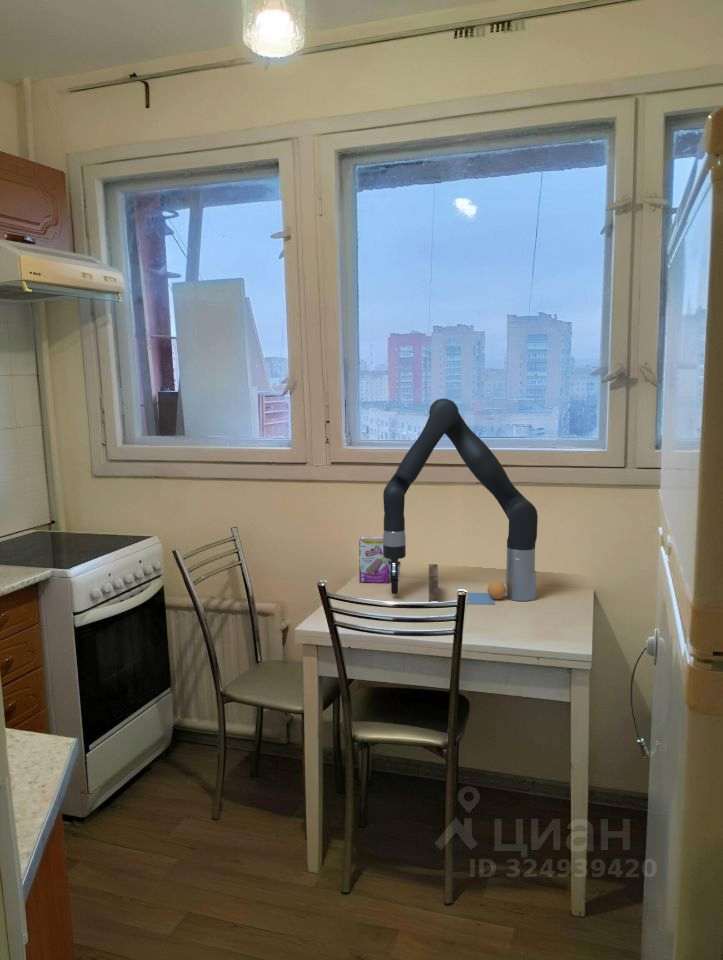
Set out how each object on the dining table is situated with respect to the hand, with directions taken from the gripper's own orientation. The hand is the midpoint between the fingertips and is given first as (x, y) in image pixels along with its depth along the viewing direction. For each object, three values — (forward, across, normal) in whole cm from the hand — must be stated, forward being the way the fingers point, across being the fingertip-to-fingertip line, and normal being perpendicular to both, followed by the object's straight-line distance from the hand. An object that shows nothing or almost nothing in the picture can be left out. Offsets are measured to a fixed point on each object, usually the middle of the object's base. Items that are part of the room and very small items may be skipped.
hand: (394, 593), depth 238 cm
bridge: (+2, 0, -13) cm, 13 cm away
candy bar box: (+2, +19, +8) cm, 21 cm away
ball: (-2, 0, -34) cm, 34 cm away
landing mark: (+2, 0, -27) cm, 27 cm away
